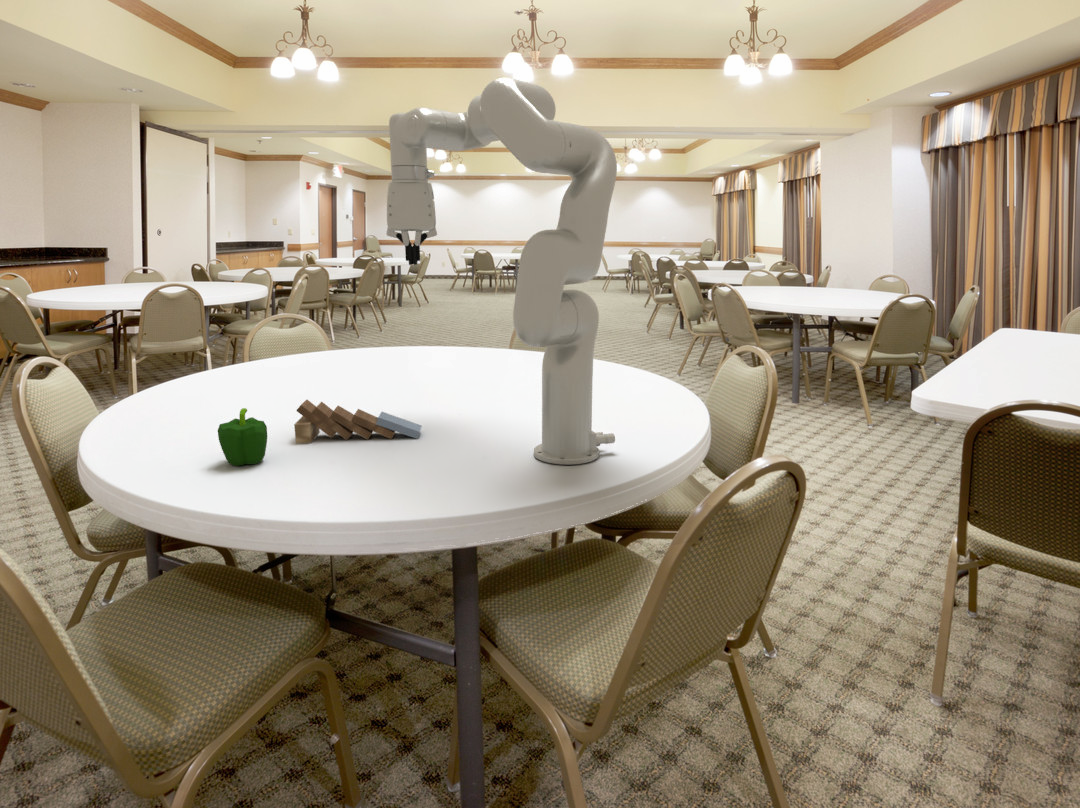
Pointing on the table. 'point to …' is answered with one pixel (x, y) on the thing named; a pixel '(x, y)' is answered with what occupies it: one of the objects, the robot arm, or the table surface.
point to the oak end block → (305, 431)
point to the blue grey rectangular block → (399, 425)
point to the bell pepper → (243, 440)
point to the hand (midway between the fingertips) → (413, 264)
